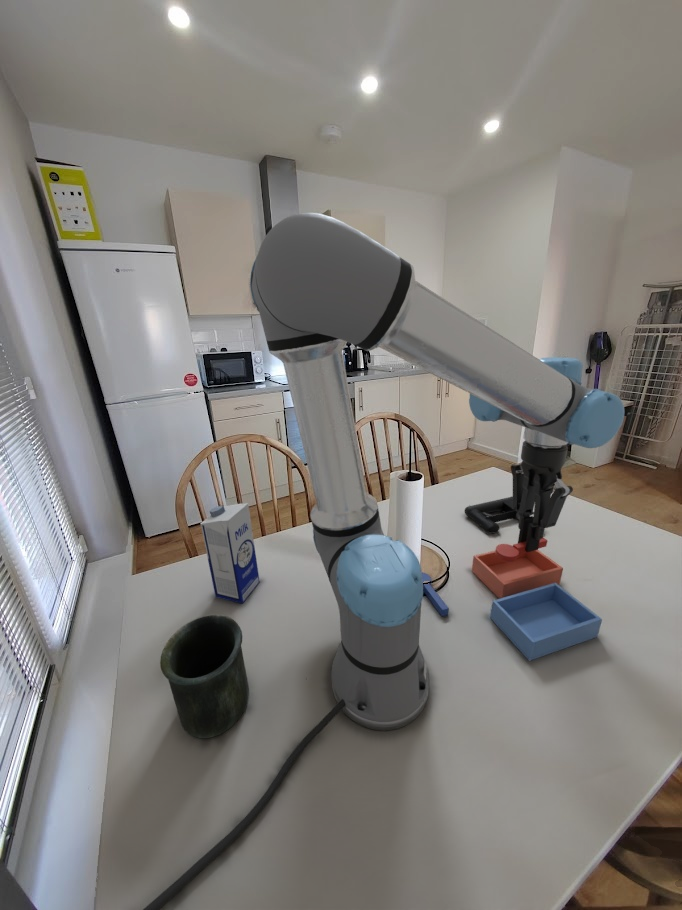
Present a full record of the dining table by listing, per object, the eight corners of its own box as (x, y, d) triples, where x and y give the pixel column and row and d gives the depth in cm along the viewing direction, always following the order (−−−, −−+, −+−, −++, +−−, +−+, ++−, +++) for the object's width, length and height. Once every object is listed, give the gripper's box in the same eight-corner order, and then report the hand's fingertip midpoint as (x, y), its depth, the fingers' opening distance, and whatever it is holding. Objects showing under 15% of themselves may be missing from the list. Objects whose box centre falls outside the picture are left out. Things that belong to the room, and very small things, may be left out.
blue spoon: (455, 612, 69) (455, 606, 68) (435, 618, 68) (435, 612, 67) (424, 574, 79) (424, 568, 79) (406, 579, 78) (406, 573, 78)
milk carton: (242, 604, 73) (227, 519, 66) (214, 597, 75) (197, 514, 68) (260, 581, 79) (248, 502, 72) (234, 575, 81) (220, 498, 74)
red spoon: (535, 539, 79) (536, 533, 78) (552, 550, 75) (553, 544, 74) (490, 551, 76) (491, 544, 75) (505, 563, 72) (506, 557, 71)
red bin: (501, 600, 71) (504, 584, 70) (471, 570, 80) (473, 555, 78) (559, 584, 75) (563, 568, 74) (525, 557, 84) (527, 542, 82)
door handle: (562, 519, 94) (516, 491, 108) (500, 535, 88) (460, 503, 102) (559, 530, 95) (514, 500, 109) (498, 546, 89) (459, 513, 103)
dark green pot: (172, 757, 48) (152, 694, 43) (183, 664, 61) (169, 609, 56) (255, 729, 50) (244, 668, 46) (248, 646, 64) (239, 592, 59)
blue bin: (529, 661, 59) (532, 642, 57) (489, 617, 67) (492, 600, 66) (597, 637, 63) (602, 619, 61) (551, 598, 71) (555, 582, 70)
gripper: (596, 451, 62) (571, 563, 70) (531, 429, 75) (517, 526, 83) (561, 458, 60) (540, 572, 68) (501, 434, 73) (490, 532, 81)
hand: (527, 547), depth 75 cm, fingers closed on red spoon, 1 cm apart
